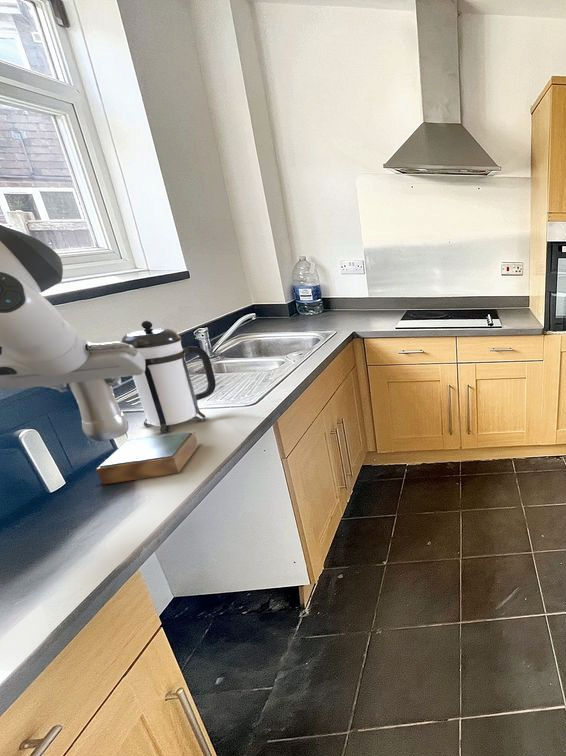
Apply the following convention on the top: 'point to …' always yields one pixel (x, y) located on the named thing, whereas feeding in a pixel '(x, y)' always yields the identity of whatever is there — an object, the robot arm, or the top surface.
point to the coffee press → (167, 377)
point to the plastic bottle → (99, 410)
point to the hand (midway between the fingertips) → (91, 385)
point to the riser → (148, 458)
